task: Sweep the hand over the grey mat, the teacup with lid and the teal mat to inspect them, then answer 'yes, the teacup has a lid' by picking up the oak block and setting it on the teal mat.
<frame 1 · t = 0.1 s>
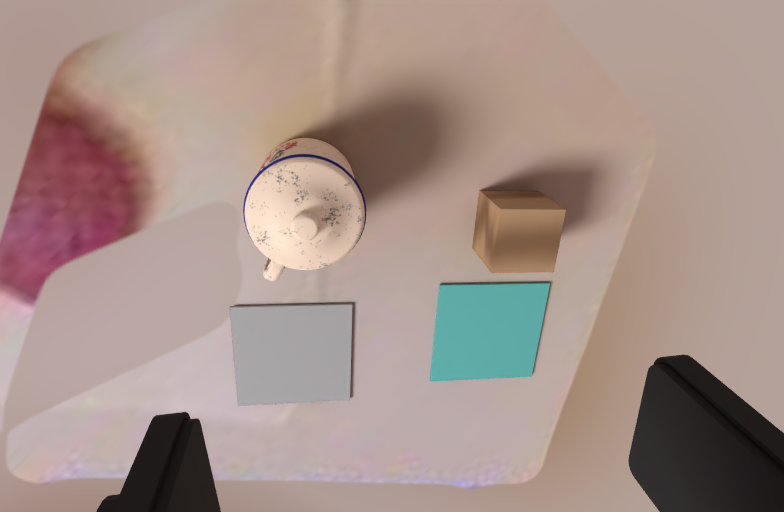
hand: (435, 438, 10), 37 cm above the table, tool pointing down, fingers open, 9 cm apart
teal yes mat: (487, 332, 54), on the table
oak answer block: (504, 219, 49), on the table
teacup with lid: (300, 198, 45), on the table
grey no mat: (293, 355, 52), on the table
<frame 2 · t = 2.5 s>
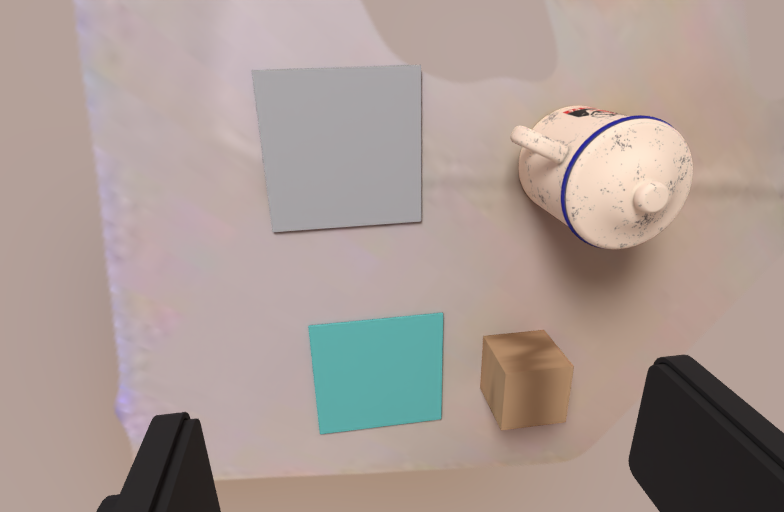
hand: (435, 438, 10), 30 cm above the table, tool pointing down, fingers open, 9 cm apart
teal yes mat: (378, 374, 46), on the table
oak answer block: (511, 358, 48), on the table
teacup with lid: (551, 151, 40), on the table
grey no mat: (343, 151, 38), on the table
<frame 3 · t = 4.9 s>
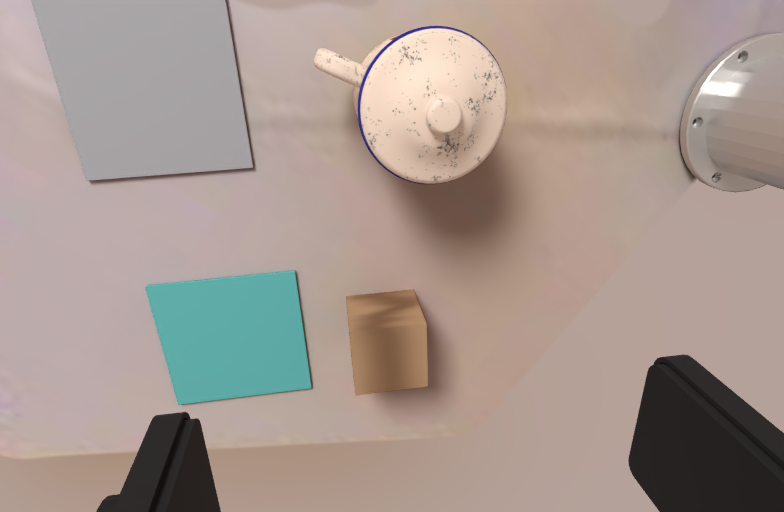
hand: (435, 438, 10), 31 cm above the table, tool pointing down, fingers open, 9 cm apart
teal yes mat: (234, 339, 43), on the table
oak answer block: (381, 321, 45), on the table
teacup with lid: (392, 88, 37), on the table
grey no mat: (152, 89, 35), on the table
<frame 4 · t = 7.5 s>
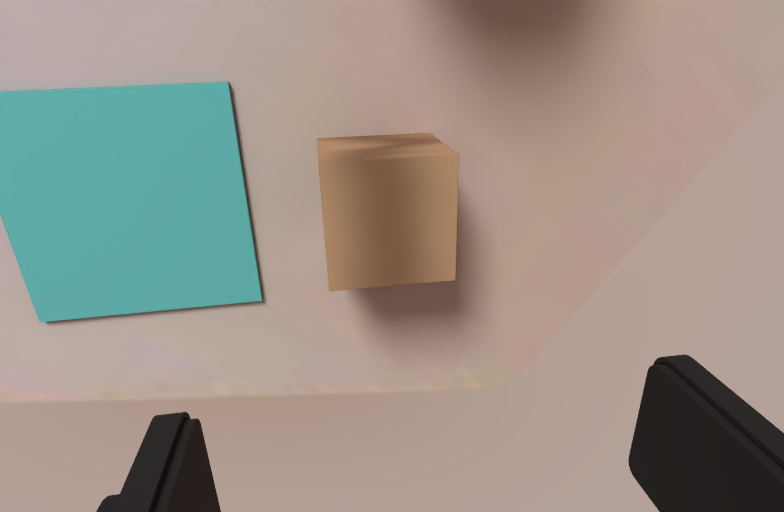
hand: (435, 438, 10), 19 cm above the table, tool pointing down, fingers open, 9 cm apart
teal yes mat: (129, 208, 26), on the table
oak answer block: (376, 190, 27), on the table
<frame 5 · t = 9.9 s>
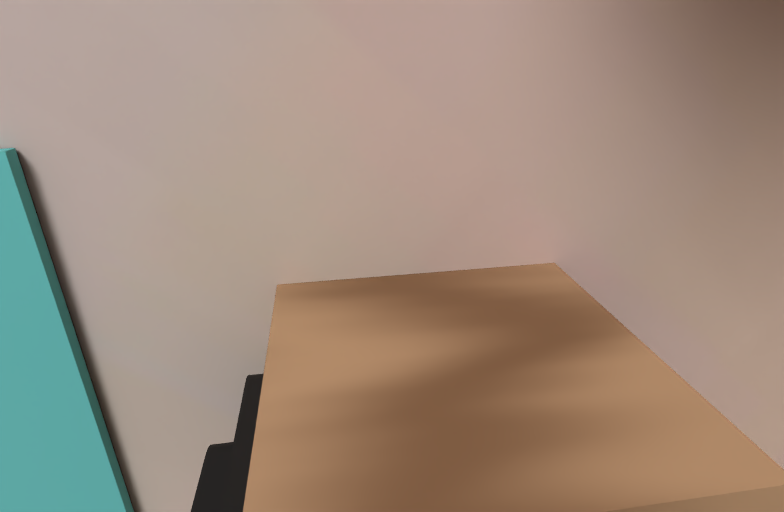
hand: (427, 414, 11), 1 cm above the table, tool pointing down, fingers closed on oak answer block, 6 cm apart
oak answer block: (419, 388, 12), on the table, touching gripper
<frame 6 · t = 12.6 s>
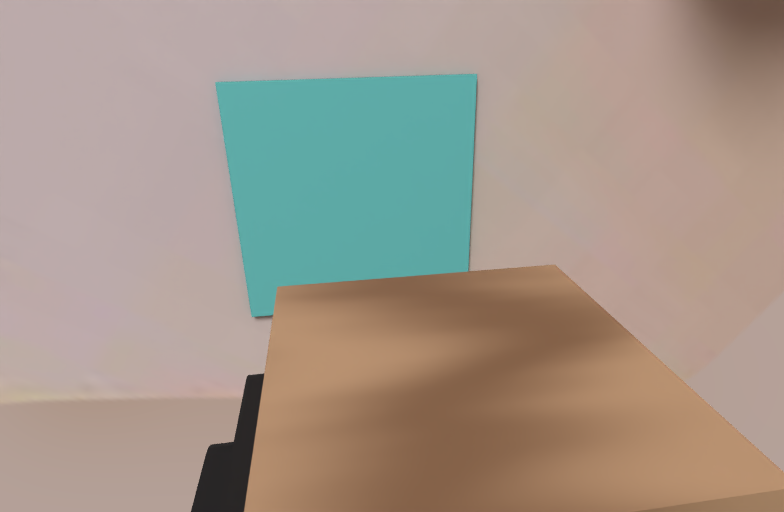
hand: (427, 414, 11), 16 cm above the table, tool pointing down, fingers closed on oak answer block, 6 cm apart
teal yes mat: (356, 202, 25), on the table
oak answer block: (420, 389, 12), point 15 cm above the table, touching gripper
when the fingers open (3 cm above the table, at t = 15.6 s): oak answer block drops 2 cm, resting on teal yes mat.
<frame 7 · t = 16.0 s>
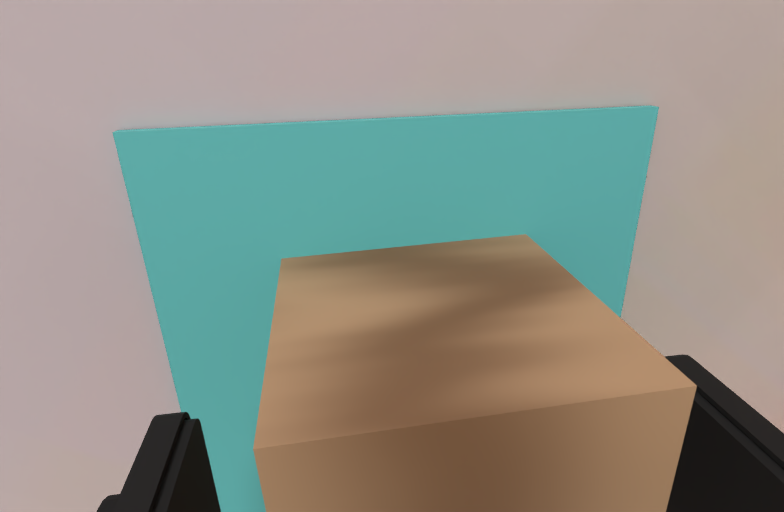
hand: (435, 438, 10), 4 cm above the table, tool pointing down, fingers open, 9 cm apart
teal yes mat: (406, 344, 13), on the table
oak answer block: (411, 350, 13), resting on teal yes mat
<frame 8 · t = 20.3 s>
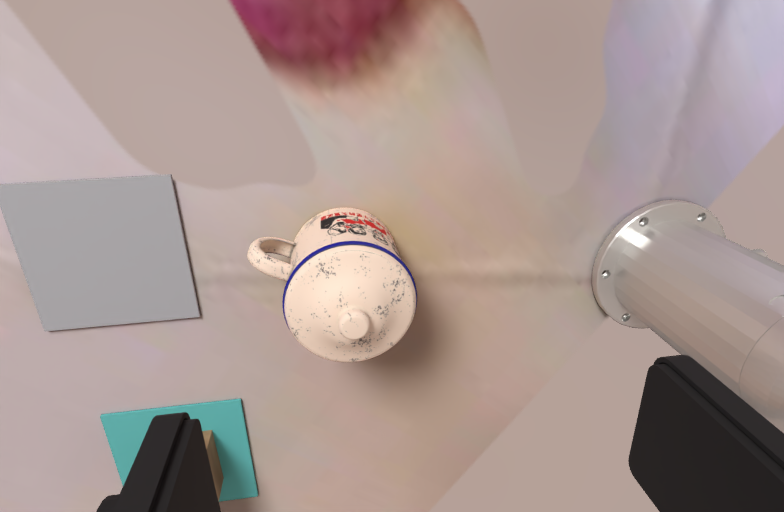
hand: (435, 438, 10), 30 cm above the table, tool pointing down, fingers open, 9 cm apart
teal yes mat: (185, 456, 47), on the table
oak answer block: (185, 458, 46), resting on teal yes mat
teacup with lid: (327, 248, 41), on the table
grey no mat: (106, 255, 38), on the table
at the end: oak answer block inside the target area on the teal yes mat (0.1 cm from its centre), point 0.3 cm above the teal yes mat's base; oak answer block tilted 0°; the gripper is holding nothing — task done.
